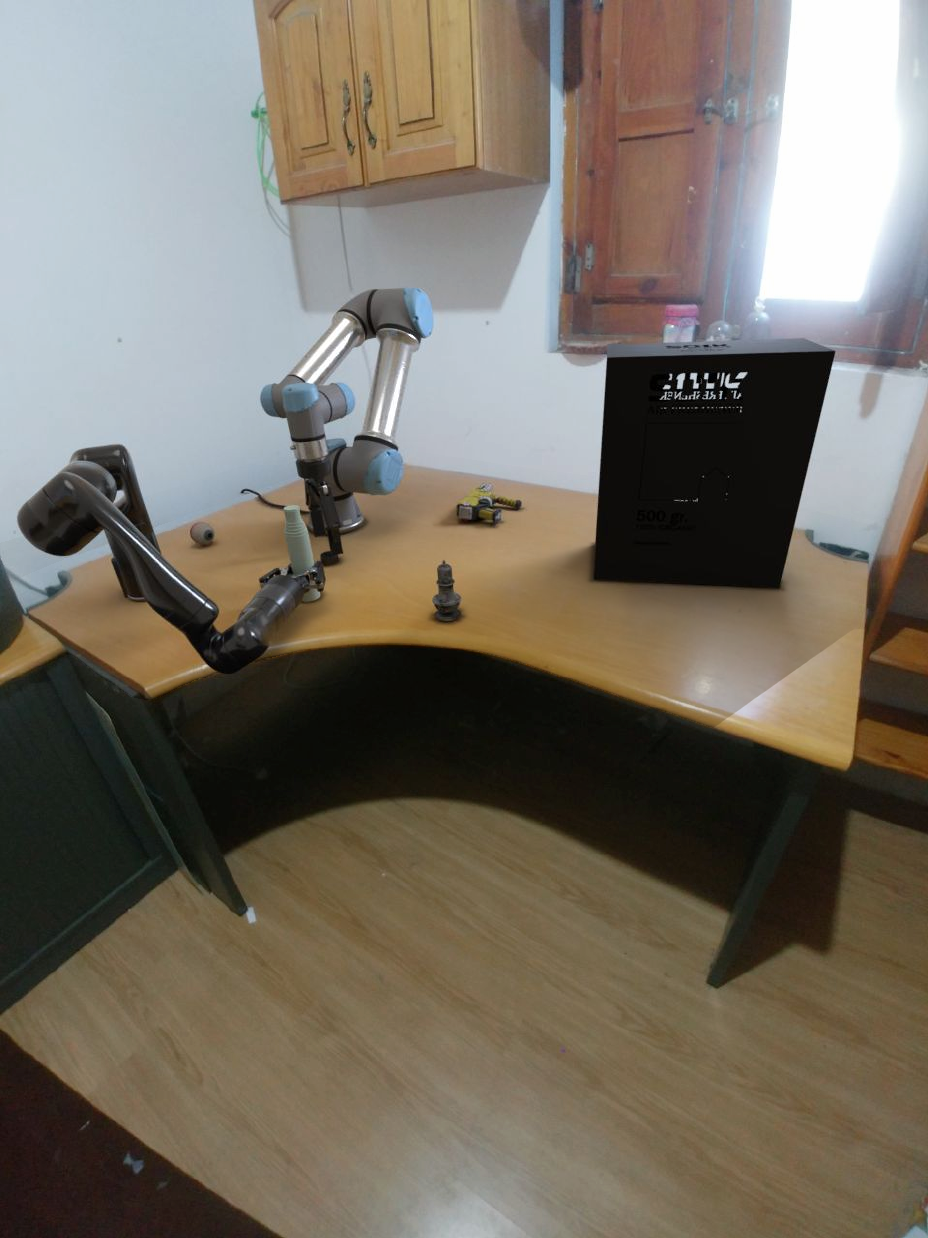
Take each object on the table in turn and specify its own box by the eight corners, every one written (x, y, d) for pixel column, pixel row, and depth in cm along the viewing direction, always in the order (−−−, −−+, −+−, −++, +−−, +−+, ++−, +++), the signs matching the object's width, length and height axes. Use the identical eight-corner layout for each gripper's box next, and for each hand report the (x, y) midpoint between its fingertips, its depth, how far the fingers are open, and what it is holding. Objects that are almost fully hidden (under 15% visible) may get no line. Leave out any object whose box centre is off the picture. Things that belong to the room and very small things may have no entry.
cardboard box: (759, 548, 141) (803, 338, 119) (779, 587, 124) (835, 350, 102) (595, 543, 149) (607, 344, 126) (593, 579, 132) (607, 357, 109)
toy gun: (529, 487, 179) (482, 480, 183) (508, 512, 159) (455, 503, 163) (528, 503, 181) (481, 495, 185) (506, 528, 161) (454, 519, 165)
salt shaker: (459, 622, 119) (455, 567, 113) (430, 620, 120) (425, 566, 114) (464, 608, 124) (461, 554, 118) (437, 606, 125) (432, 553, 119)
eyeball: (203, 550, 158) (197, 528, 155) (188, 545, 161) (182, 524, 158) (222, 541, 162) (216, 520, 159) (207, 538, 166) (201, 517, 163)
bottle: (315, 589, 135) (297, 501, 125) (323, 597, 132) (306, 507, 121) (295, 596, 133) (275, 507, 123) (303, 604, 129) (284, 513, 119)
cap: (326, 557, 150) (324, 550, 149) (342, 558, 149) (340, 551, 148) (318, 564, 147) (316, 557, 146) (334, 566, 146) (332, 558, 145)
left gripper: (307, 585, 114) (337, 549, 128) (237, 583, 116) (274, 548, 130) (314, 619, 118) (342, 580, 132) (246, 617, 120) (281, 579, 134)
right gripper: (281, 448, 143) (299, 531, 154) (311, 474, 124) (329, 567, 135) (312, 443, 146) (327, 525, 157) (345, 467, 127) (360, 558, 138)
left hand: (308, 564), depth 131 cm, fingers closed on bottle, 4 cm apart
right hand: (328, 544), depth 146 cm, fingers open, 13 cm apart
